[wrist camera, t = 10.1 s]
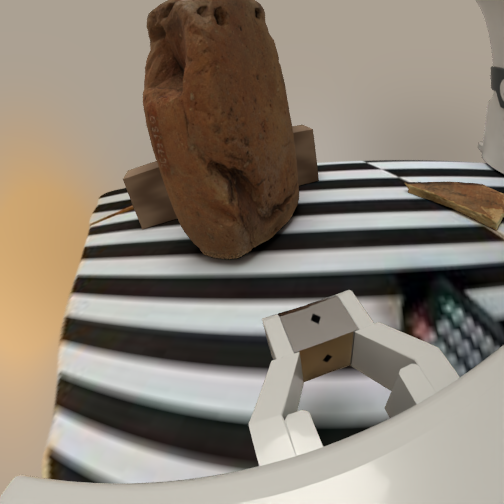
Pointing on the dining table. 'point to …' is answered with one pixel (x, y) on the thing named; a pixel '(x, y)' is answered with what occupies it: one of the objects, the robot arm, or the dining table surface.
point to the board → (156, 197)
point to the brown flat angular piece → (464, 199)
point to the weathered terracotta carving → (220, 123)
